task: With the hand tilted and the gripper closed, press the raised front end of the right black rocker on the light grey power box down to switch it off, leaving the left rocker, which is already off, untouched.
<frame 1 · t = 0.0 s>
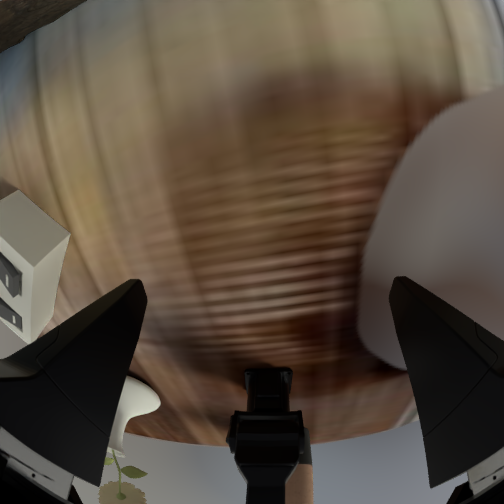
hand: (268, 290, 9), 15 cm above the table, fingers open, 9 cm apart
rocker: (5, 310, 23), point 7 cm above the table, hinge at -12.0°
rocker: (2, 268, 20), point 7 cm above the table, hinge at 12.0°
travel mug: (291, 431, 47), on the table
flower in vase: (137, 386, 40), on the table
power box: (33, 261, 28), on the table
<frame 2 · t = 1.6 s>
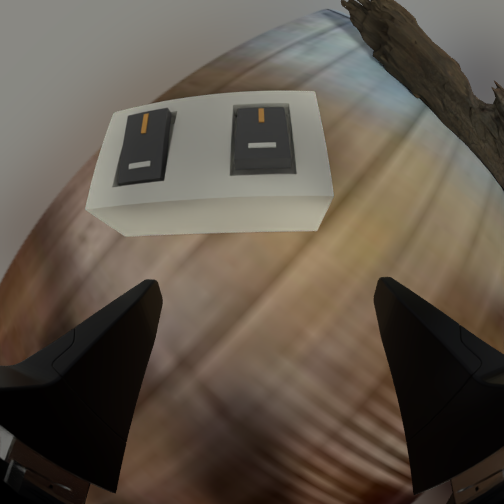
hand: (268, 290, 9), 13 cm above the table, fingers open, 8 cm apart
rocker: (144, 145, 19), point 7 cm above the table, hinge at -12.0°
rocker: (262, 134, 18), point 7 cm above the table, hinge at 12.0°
power box: (216, 183, 25), on the table
driftwood: (468, 143, 26), on the table
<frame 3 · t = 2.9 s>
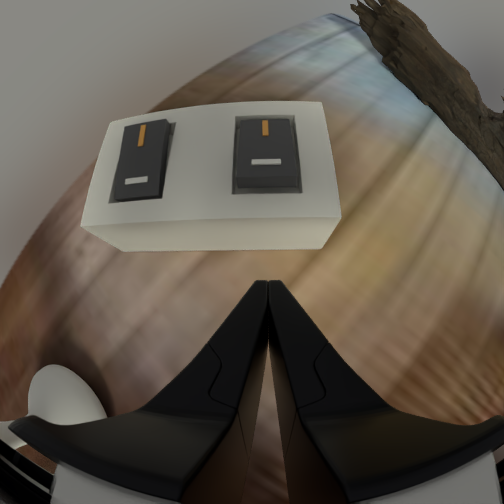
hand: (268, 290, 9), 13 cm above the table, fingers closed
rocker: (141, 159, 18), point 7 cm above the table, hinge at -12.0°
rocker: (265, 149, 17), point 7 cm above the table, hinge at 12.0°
flower in vase: (79, 421, 19), on the table
power box: (217, 197, 24), on the table
driftwood: (476, 152, 25), on the table
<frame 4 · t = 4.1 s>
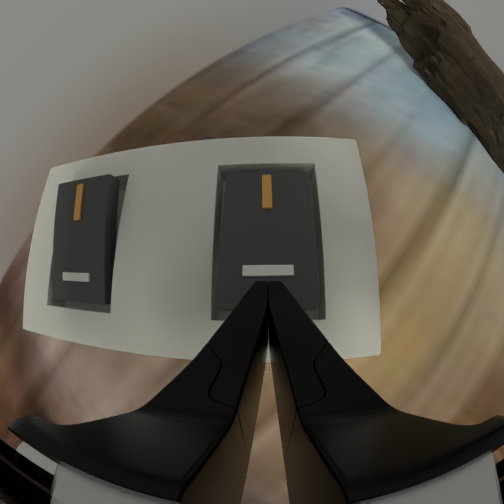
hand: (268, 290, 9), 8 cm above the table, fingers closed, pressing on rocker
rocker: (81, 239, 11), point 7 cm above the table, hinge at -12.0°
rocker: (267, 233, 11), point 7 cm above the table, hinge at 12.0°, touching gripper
flower in vase: (69, 489, 13), on the table
power box: (200, 269, 18), on the table
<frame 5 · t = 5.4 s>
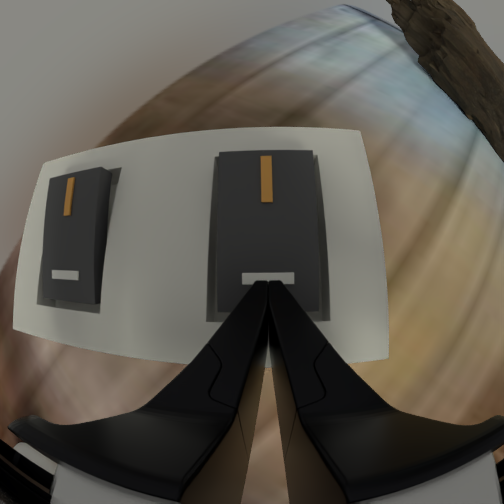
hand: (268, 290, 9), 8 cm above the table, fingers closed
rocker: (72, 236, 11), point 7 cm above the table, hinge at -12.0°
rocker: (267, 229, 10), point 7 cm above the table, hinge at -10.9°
flower in vase: (64, 492, 12), on the table
power box: (197, 268, 17), on the table
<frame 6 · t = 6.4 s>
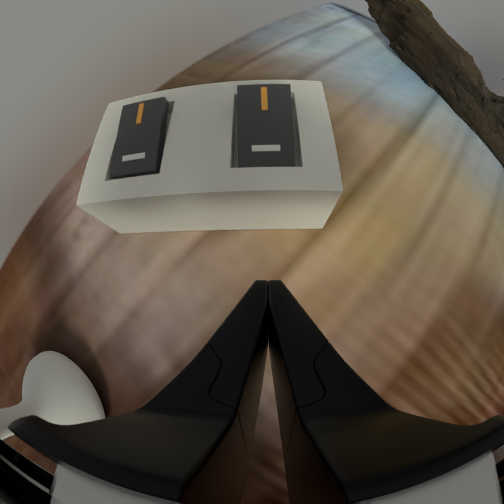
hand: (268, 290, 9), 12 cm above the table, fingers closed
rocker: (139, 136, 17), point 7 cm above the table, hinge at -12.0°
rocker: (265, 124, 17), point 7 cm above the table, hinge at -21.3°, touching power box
flower in vase: (74, 410, 19), on the table
power box: (216, 177, 24), on the table
driftwood: (480, 134, 24), on the table
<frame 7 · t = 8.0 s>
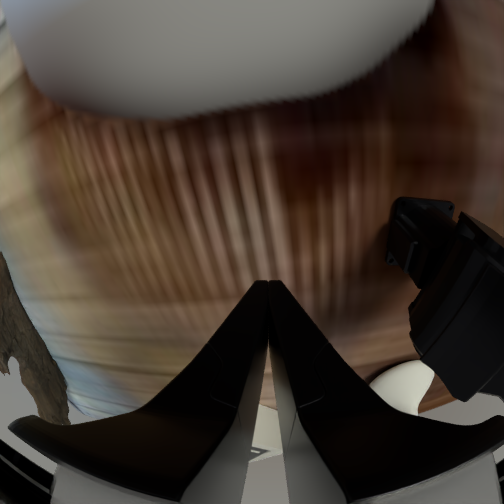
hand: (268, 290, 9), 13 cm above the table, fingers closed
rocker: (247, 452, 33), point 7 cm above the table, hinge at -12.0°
flower in vase: (400, 372, 33), on the table
power box: (227, 408, 38), on the table
driftwood: (29, 321, 33), on the table
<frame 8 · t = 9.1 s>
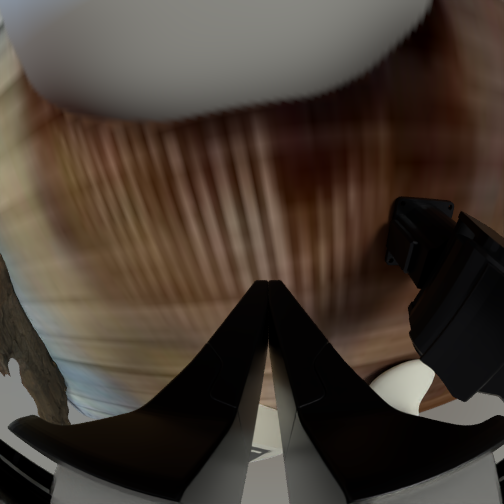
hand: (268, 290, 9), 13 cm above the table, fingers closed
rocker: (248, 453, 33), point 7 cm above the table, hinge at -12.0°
flower in vase: (401, 371, 33), on the table
power box: (228, 409, 38), on the table
driftwood: (29, 323, 33), on the table
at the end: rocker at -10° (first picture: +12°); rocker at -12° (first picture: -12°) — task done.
